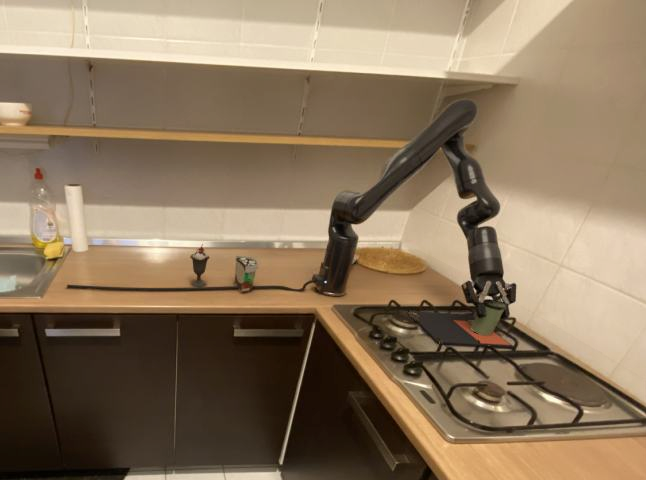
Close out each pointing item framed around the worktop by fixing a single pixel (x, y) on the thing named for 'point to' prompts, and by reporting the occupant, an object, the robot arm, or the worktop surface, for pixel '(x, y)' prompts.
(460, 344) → the corner mat
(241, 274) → the food container
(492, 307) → the tea tin
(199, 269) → the sundae
